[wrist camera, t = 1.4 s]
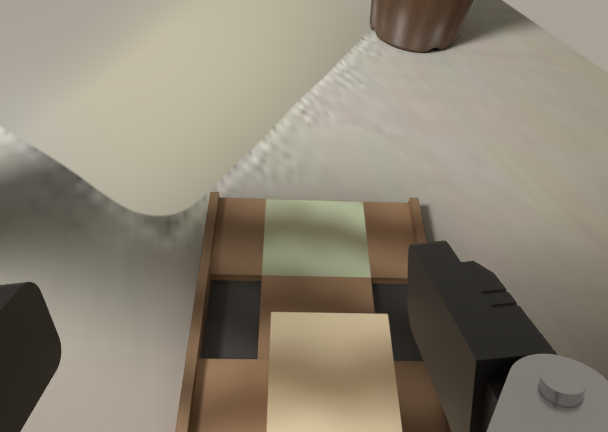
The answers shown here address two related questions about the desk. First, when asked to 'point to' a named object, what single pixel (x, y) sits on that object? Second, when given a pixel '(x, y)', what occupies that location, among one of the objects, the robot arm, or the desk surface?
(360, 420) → the block
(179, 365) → the desk surface
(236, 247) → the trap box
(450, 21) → the plant pot
